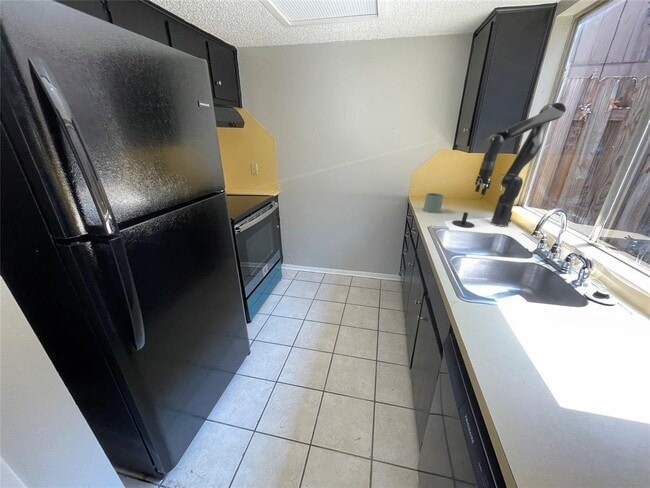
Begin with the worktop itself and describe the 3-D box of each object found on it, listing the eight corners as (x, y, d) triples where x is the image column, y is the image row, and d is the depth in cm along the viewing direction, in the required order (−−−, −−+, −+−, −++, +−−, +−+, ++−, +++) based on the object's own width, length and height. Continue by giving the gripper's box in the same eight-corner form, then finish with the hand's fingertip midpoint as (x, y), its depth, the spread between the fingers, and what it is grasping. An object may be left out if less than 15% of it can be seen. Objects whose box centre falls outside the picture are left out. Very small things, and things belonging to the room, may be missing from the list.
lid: (468, 222, 179) (471, 210, 176) (477, 229, 167) (481, 216, 164) (448, 221, 180) (451, 209, 176) (456, 228, 168) (460, 215, 164)
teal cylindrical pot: (437, 208, 209) (440, 193, 204) (442, 213, 198) (446, 197, 193) (421, 207, 210) (424, 192, 205) (426, 212, 199) (429, 196, 193)
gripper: (498, 170, 159) (490, 196, 165) (487, 167, 172) (480, 191, 178) (486, 169, 159) (478, 195, 166) (476, 166, 172) (469, 190, 179)
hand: (479, 193), depth 172 cm, fingers open, 8 cm apart
